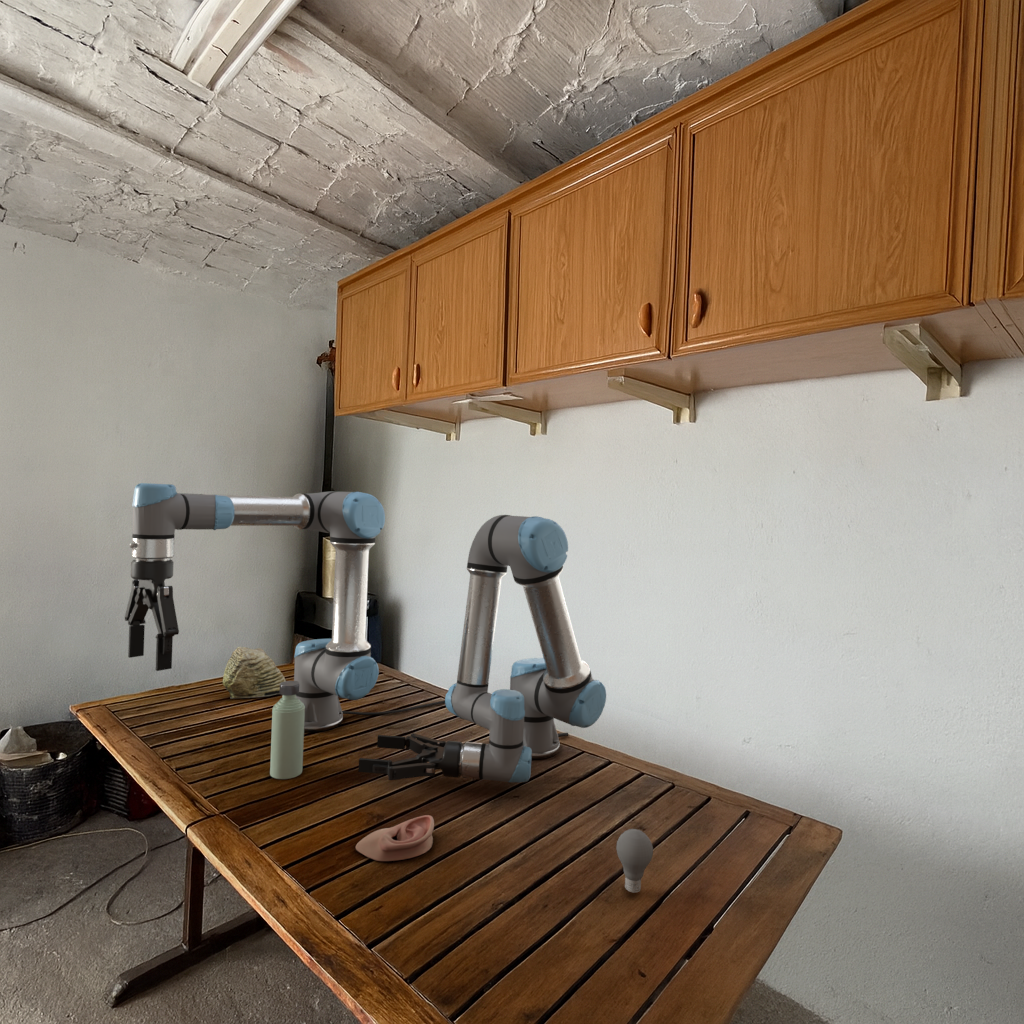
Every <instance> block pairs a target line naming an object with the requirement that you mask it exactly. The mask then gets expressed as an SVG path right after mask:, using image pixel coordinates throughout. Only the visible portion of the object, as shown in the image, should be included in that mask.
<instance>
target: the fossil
mask: <svg viewBox="0 0 1024 1024" xmlns="http://www.w3.org/2000/svg"><path fill="white" fill-rule="evenodd" d="M222 676H223V677H222V685H223V687H224V688H225V690H226V691H228V693H229V698H230V699H250V698H264V697H271V696H275V695H281V694H280V693H279V692H280V683H281V682H284V681H287V680H286V678H285V676H284V674H283V673H282V672H281V669H279V668H278V667H277V665H276V663H275V662H274V660H273V659H272V658H271V657H270V656H269V655H268V654H267V653H266V652H265V650H264V649H263V648H260V647H258V648H251V647H247V646H246V647H245V646H238V647H237V648H236V649H235V650H233V651H232V653H231V656H230V657H229V659H228V660H227V663H226V666H225V668H224V671H223V675H222Z"/></svg>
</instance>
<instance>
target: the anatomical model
mask: <svg viewBox="0 0 1024 1024" xmlns="http://www.w3.org/2000/svg"><path fill="white" fill-rule="evenodd" d="M434 829H435V820H434V817H433V816H432V815H429V814H425V815H420V816H417V817H414V818H411V819H408V820H405V821H402V822H401V823H398V824H396V825H394V826H391V827H384V828H380V829H377V830H374V831H373V832H370V833H369V834H367V835H366V836H365V837H363V838H362V839H360V840H359V841H358V842H357V844H356V845H355V851H357V852H358V853H360V854H362V855H364V857H366V858H369V859H371V860H373V861H377V862H392V861H393V862H395V861H401V860H407V859H412V858H416V857H418V856H421V855H423V854H425V853H427V852H428V851H430V849H431V848H432V847H433V843H434V838H433V837H434V836H433V832H434Z"/></svg>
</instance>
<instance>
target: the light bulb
mask: <svg viewBox="0 0 1024 1024" xmlns="http://www.w3.org/2000/svg"><path fill="white" fill-rule="evenodd" d="M615 849H616V854H617V857H618V859H619V861H620V863H621V865H622V867H623V873H624V874H623V875H624V876H625V878H624V888H625V890H627V891H628V892H630V893H634V894H635V893H639V892H640V891H641V889H642V887H641V886H642V879H643V877H644V875H645V871H646V868H647V867H648V866H649V864H650V863H651V861H652V859H653V855H654V847H653V843H652V841H651V838H649V836H648V835H647V834H646V833H645V832H643V831H642V830H641V829H636V828H629V829H627V830H625V831H623V832H622V833H621V834H620V835H619V837H618V839H617V841H616V847H615Z"/></svg>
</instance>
